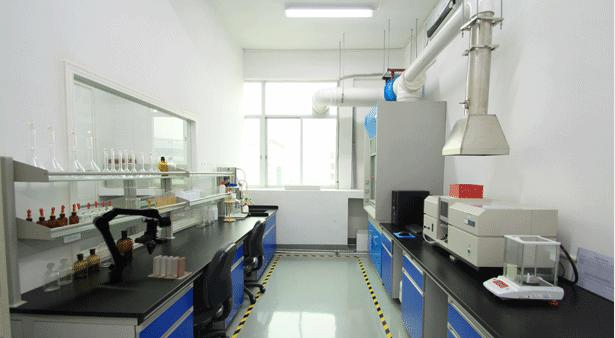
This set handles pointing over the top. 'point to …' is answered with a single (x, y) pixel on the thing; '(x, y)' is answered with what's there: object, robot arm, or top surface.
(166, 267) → the domino
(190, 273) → the beige flat rectangular board
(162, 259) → the domino
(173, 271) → the domino
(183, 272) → the domino
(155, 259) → the domino
